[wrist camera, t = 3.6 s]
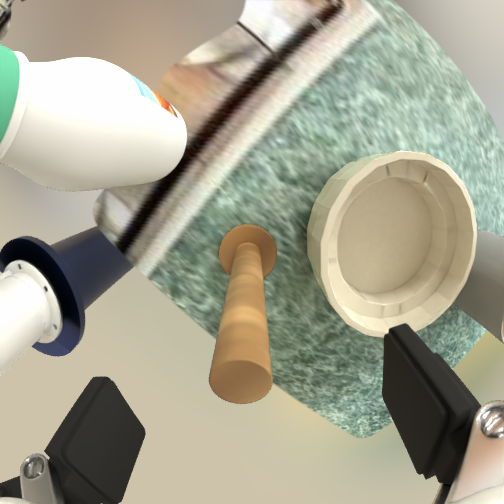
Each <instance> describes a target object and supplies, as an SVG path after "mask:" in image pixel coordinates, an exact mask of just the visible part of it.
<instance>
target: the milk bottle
mask: <svg viewBox="0 0 504 504" xmlns="http://www.w3.org/2000/svg"><path fill="white" fill-rule="evenodd" d="M186 142H187V132H186V126H185V123H184V120H183V118H182V117H181V115H180V114H179V112H178V111H177V110H176V109H175V108H174V107H173V106H172V105H171V104H169V103H168V102H167V101H166V100H164V99H163V98H162V97H161V96H159V95H158V94H157V93H156V92H154V91H153V90H152V89H150V88H149V87H148V86H146V85H145V84H144V83H142V82H141V81H140V80H138V79H137V78H135V77H134V76H133V75H131V74H129V73H128V72H126V71H125V70H123V69H121V68H120V67H118V66H116V65H114V64H111V63H109V62H106V61H104V60H100V59H95V58H87V57H78V58H77V57H76V58H68V59H63V60H58V61H53V62H43V63H30V62H28V60H27V58H26V57H25V55H24V54H22V53H21V52H17V51H12V50H11V49H9V48H7V47H5V46H2V45H0V164H3V165H7V166H9V167H12V168H14V169H16V170H17V171H19V172H20V173H22V174H23V175H25V176H26V177H27V178H29V179H30V180H32V181H34V182H35V183H37V184H40V185H42V186H44V187H47V188H50V189H54V190H59V191H72V192H75V191H89V190H98V189H105V188H113V187H121V186H129V185H137V184H145V183H150V182H154V181H157V180H159V179H161V178H163V177H165V176H166V175H168V174H169V173H170V172H171V171H172V170H173V169H174V168H175V167H176V166H177V164H178V163H179V161H180V160H181V158H182V156H183V154H184V151H185V147H186Z"/></svg>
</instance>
